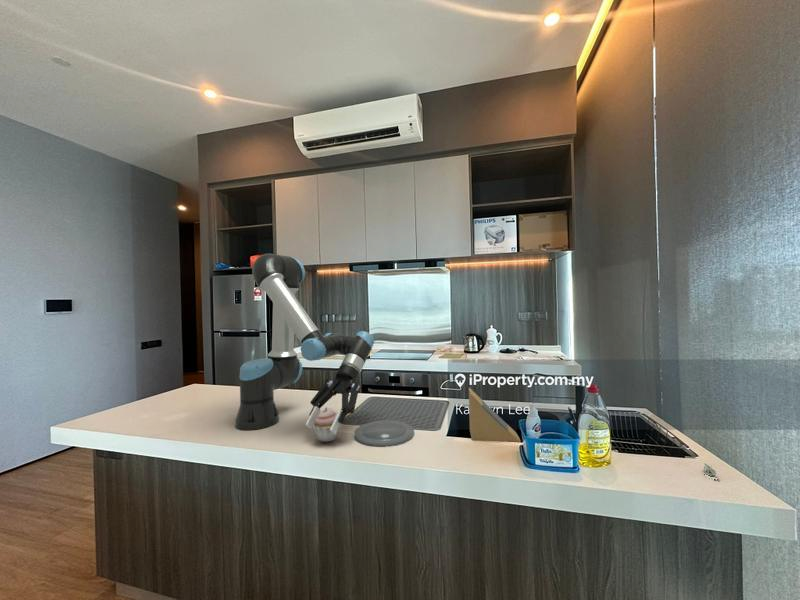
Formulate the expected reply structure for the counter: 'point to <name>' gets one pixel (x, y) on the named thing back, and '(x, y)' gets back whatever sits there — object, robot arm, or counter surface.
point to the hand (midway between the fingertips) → (320, 429)
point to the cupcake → (325, 425)
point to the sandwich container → (487, 422)
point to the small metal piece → (710, 470)
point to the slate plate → (384, 433)
